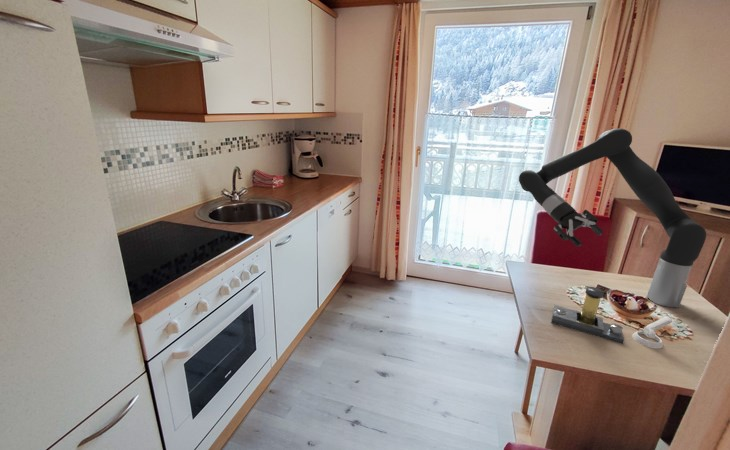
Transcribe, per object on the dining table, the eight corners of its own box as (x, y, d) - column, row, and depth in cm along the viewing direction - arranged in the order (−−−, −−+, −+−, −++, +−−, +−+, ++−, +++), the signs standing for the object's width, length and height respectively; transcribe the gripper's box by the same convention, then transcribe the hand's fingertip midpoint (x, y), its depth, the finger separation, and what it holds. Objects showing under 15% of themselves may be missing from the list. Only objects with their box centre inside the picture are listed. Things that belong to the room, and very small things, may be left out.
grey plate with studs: (620, 331, 110) (622, 322, 109) (622, 344, 103) (625, 335, 102) (552, 312, 120) (554, 303, 119) (551, 322, 113) (553, 314, 112)
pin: (593, 325, 113) (603, 289, 108) (593, 332, 109) (604, 295, 104) (576, 320, 115) (586, 285, 111) (576, 327, 111) (586, 291, 107)
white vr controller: (693, 341, 98) (676, 328, 97) (652, 358, 104) (636, 346, 103) (679, 322, 104) (663, 310, 103) (642, 340, 110) (626, 328, 110)
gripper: (544, 211, 124) (577, 244, 115) (576, 194, 124) (612, 225, 115) (540, 222, 130) (570, 253, 121) (571, 205, 130) (604, 235, 121)
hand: (590, 239), depth 118 cm, fingers open, 8 cm apart
